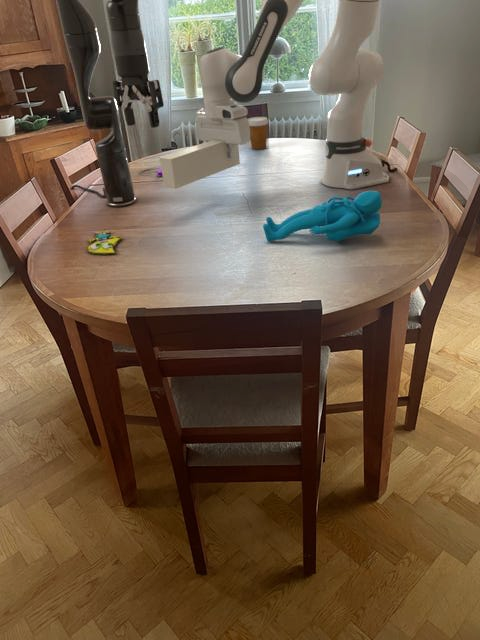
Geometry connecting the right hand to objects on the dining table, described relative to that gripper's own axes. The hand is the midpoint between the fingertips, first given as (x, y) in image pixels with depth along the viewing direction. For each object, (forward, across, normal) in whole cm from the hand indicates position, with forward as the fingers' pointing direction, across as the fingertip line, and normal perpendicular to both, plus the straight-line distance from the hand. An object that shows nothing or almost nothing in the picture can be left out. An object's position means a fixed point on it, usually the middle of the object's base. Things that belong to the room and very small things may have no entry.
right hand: (224, 156), depth 152 cm
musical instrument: (+13, -49, +14) cm, 52 cm away
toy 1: (+14, -5, -46) cm, 48 cm away
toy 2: (+14, +44, -12) cm, 48 cm away
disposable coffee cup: (+13, -34, +57) cm, 68 cm away
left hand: (-16, +5, -33) cm, 37 cm away
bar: (+3, 0, -10) cm, 10 cm away
